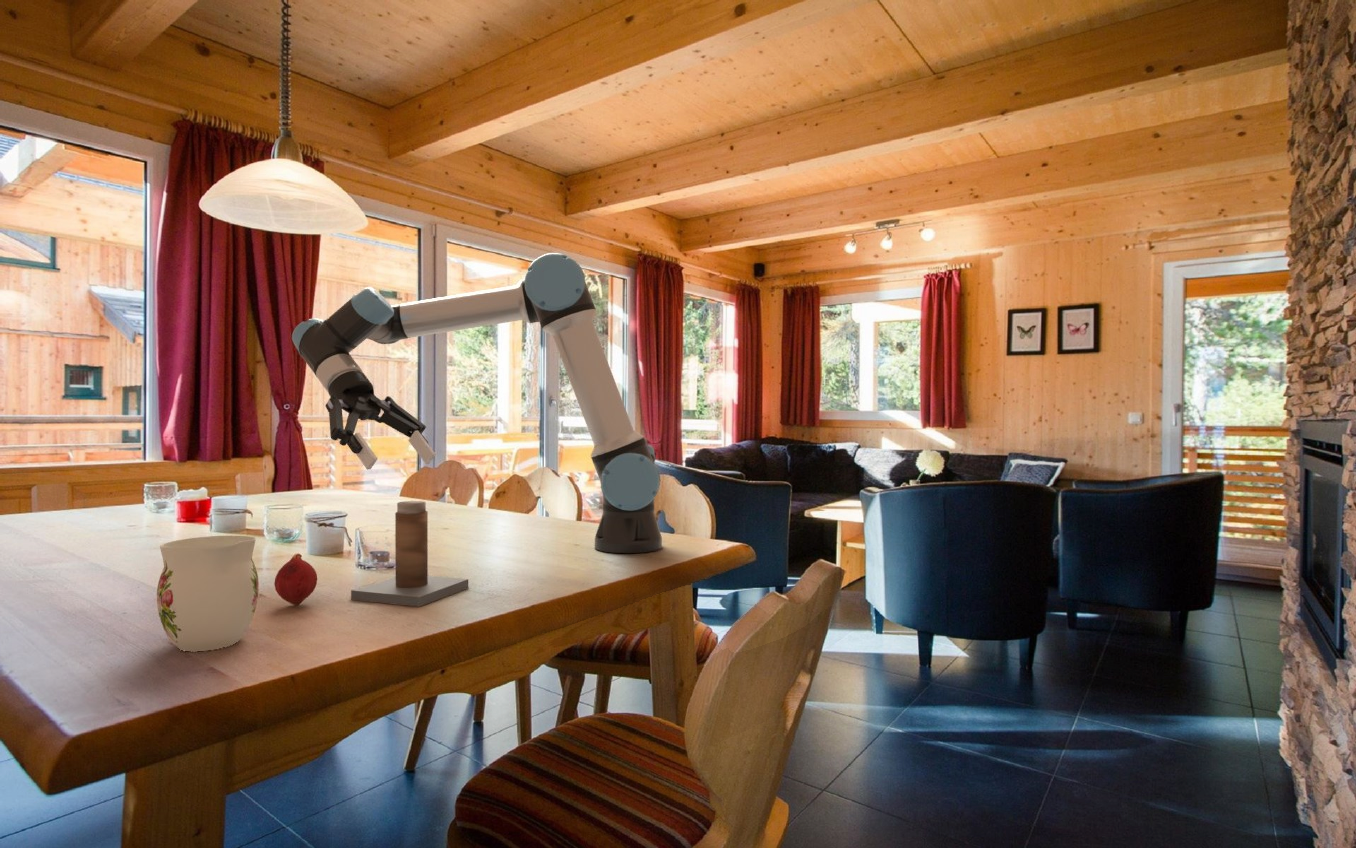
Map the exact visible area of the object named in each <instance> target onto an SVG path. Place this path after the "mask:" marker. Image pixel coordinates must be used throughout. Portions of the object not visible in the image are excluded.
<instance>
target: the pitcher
mask: <svg viewBox="0 0 1356 848" xmlns="http://www.w3.org/2000/svg"><path fill="white" fill-rule="evenodd" d="M256 540H257V539H256V537H254V536H248V535H214V536H212V535H211V536H200V537H199V536H198V537H190V538H183V539H177V540H172V541H168V542H165V543H162V544H161V545H160V546H159V548H160V549H159V550H160V553H161V557H162V561H163V568H162V570H161V571H162V572H161V574H160V577H159V580H158V583H157V588H156V589H157V590H156V604H157V611H158V616H159V620H160V623H161V625H162V627H163V630H164V632H165V633H166V636H167V637H168V639H169V640H170V642H171V643H172V644H173V645H174V646H175V647H177V649H178V648H179V649H180V650H179V649H178V650H179V651H181V650H185V651H191V652H190V653H198V652H197V651H204V652H206V651H205V650H211V651H215V650H214V649H217V650H219V649H218V648H221V647H225V648H227V647H226V646H228V647H230V646H229V645H231V646H233V644H234V645H235V643H236V642H237V643H239V642H240V639H241V638H242V637H243V635H244V634H245V633H246V632H247V630H248V628H249V627H250V625H251V622H252V620H253V617H254V614H255V611H256V607H257V604H258V596H259V591H260V590H259V586H260V585H259V583H260V582H259V575H258V571H257V568H256V566H255V565H256V564H255V562H254V560H253V553H254V548H255V544H256ZM238 641H239V642H238ZM237 643H236V644H237ZM221 649H222V648H221ZM185 651H184V652H185ZM192 651H193V652H192ZM195 651H196V652H195Z"/></svg>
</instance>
